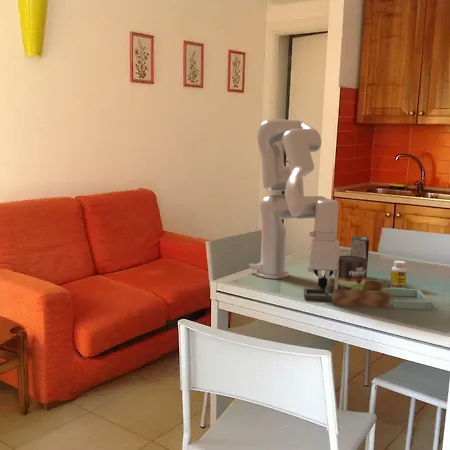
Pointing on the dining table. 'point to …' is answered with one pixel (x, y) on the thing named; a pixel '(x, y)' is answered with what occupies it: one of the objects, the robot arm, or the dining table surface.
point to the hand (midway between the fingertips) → (322, 288)
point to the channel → (361, 295)
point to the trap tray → (316, 294)
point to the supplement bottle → (398, 275)
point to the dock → (420, 304)
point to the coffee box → (360, 248)
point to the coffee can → (351, 273)
